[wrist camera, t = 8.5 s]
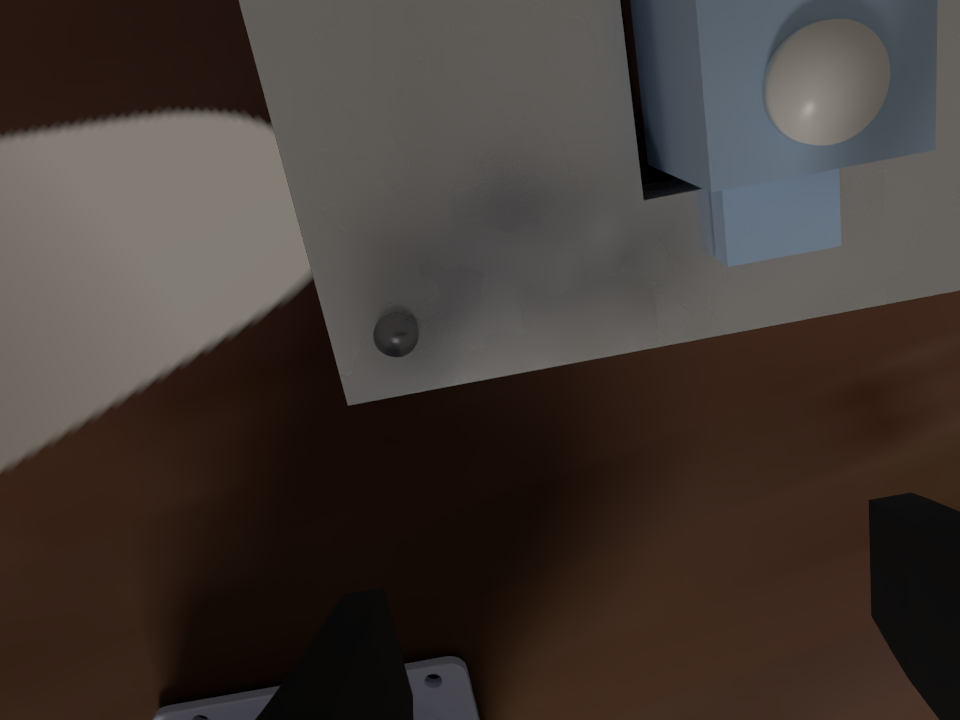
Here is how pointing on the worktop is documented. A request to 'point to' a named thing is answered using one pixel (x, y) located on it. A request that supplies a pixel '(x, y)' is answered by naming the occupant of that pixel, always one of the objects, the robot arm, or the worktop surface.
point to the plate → (543, 195)
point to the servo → (782, 107)
